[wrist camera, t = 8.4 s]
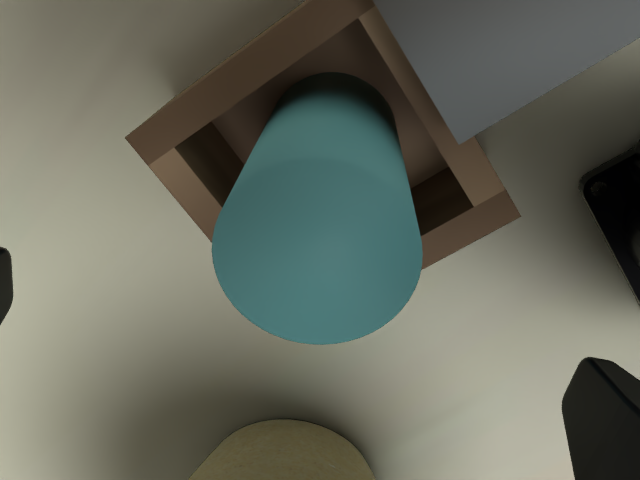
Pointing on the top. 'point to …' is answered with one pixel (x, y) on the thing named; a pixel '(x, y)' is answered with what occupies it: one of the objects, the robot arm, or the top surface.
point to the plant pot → (284, 454)
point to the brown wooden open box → (391, 96)
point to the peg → (321, 217)
